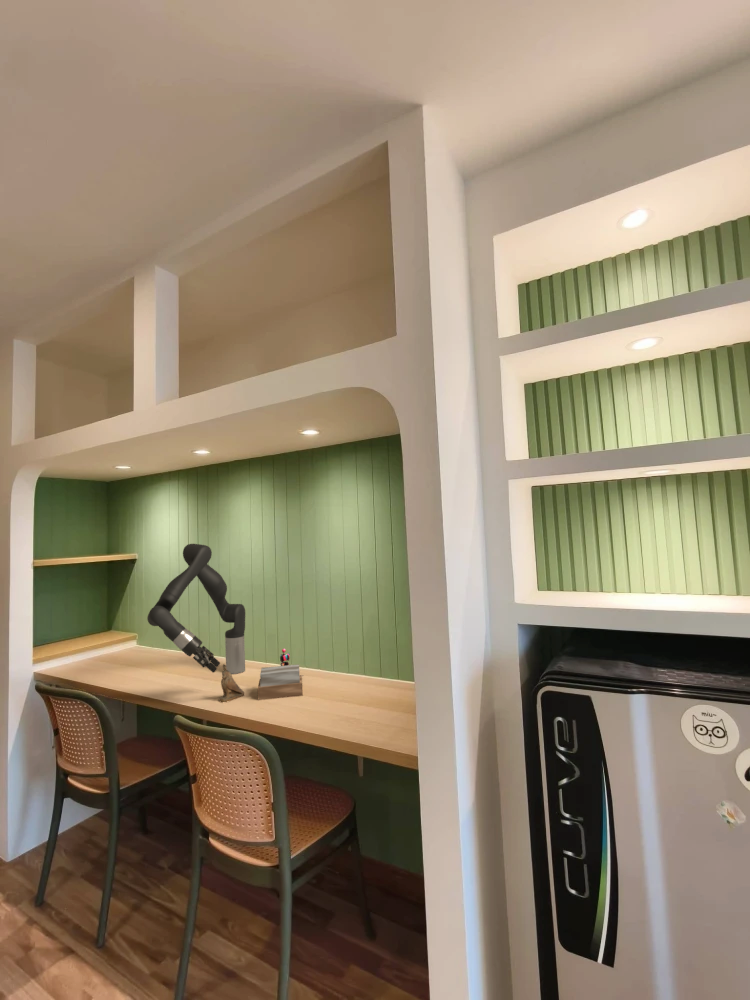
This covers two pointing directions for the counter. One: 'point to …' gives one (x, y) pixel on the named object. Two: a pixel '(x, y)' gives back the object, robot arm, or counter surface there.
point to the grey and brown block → (280, 682)
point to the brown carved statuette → (229, 687)
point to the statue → (284, 658)
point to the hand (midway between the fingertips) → (217, 667)
